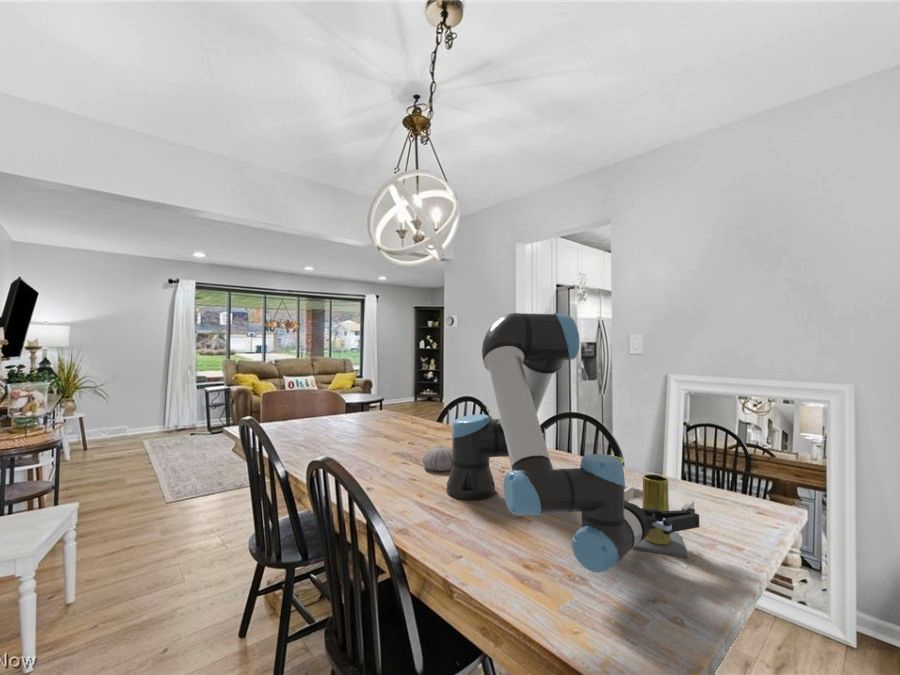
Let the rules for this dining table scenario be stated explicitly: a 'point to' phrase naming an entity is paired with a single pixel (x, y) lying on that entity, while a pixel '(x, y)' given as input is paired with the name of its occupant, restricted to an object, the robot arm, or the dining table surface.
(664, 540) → the vase
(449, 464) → the sea urchin shell
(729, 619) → the dining table surface
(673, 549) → the slate mat
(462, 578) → the dining table surface
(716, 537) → the dining table surface
